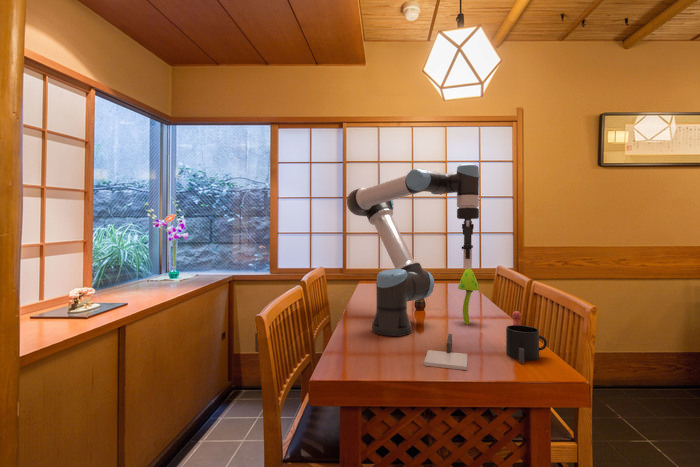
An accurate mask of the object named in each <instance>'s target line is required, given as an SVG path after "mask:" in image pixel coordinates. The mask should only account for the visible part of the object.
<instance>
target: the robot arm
mask: <svg viewBox="0 0 700 467" xmlns="http://www.w3.org/2000/svg"><path fill="white" fill-rule="evenodd" d="M479 188H480V169H479V166H478V165H477V164H475V163H463V164H459V165H458V166H457V167H456V171H454V172H447V173H444V172H437V171H432V170H426V169H423V168H413V169H411V170H410V171H409V172H407V174H406V175H403V176H400V177H397V178H395V179H394V178H393V179H391V180H389V181H388V180H387V181H385V182H383V183H378V184H375V185H373V186H370V187H359V188H357V189H355V190H352V191H351V192H350V193H349V194H348V196H347V199H346V206H347V208H348V211H349V212H351V213H352V214H353V215H355V216H359V217H366V218H367V220H368V222H369V224H370V225H373V226H374V227H375V230H376V231H377V233H378V235H379V237H380V239H381V241H382V243H383V246H384V248H385V250H386V252H387V254H388V256H389V259H390V260H391V263H392V264H393V266H394V268H393V269H385V270H381V271H380V272H378V273H377V275H376V282H375V286H376V310H375V315H374V318H373V321H372V324H371V331H372V332H373V333H375V334H377V335H381V336H389V337H390V336H393V337H396V336H406V335H409V334H411V333H412V324H411V320H410V318H409V314H408V307H407V306H408V302H413V301H420V300H421V301H422V300H424V299H427V298H429V297H430V296H431V295H432V293H433V291H434V288H435V278H434V277H433V275H432V273H431V272H429V271H427V270H425V269H423V267H422V266H421V263H420V262H418V261H415V260H414V257H413V256H412V253H411V251H410V249H409V248H408V246H407V243H406V242H405V239H404V238H403V236H402V234H401V232H400V230H399V228H398V226H397V224H396V222H395V220H394V218H393V215H394V200H397V199H401V198H406V197H408V196H411V195H416V194H418V193H422V192H427V193H428V192H429V193H431V194H432V195H445V194H454V193H455V194H456V207H457V209H456V218H457V219H458V220H464V221H463V223H462V224H461V229H462V235H463V245H462V246H461V250H463V254H462V256H463V261H462V262H463V264H462V265H463V267H462V268H463V269H465V270H466V269H471V270H472V269H473V267H472V266H473V265H472V264H473V263H472V262H473V254H472V253H473V249H474V245H473V244H472V235H474V234H473V233H474V227H475V226H474V223H473V221H472V220H477V219H479V218H480V211H479V210H480V209H479V208H478V207H479V206H480V205H479V204H480V201H481V199H482V198H480V196H479V195H480V193H479V190H480V189H479Z"/></svg>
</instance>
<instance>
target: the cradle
mask: <svg viewBox="0 0 700 467" xmlns="http://www.w3.org/2000/svg"><path fill="white" fill-rule="evenodd" d="M511 316H512V320H513V325H521V318H522V314H521V312H520V311H518V310H514V311H513V312H512V314H511ZM452 347H453V333H448V335H447V340H446V352H447V353H451V352H452ZM517 361H518V362H519V364H524V365H525V361H524V349H523V347H518V360H517Z"/></svg>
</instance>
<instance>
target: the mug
mask: <svg viewBox="0 0 700 467" xmlns="http://www.w3.org/2000/svg"><path fill="white" fill-rule="evenodd" d="M505 328H506V329H505V330H506V331H505V336H506V337H505V338H506V339H505V340H506V344H505V347H506V348H505V352H506V353H505V354H506V356H507V357H509V358H511V359H514V360H517V361H519V360H518V347H523V349H524V362H535V361H538V360H539V359H540V351H543V350H545V349H546V348H547V345H548V341H547V339H546V338H545V337H544V336H542V335H540V330H539V329H538V328H536V327H534V326H533V327H532V326H529V325H521V324H520V325H508V326H506V327H505ZM540 340H542V341H543V345H542V346H540Z"/></svg>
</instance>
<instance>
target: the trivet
mask: <svg viewBox="0 0 700 467" xmlns="http://www.w3.org/2000/svg"><path fill="white" fill-rule="evenodd" d="M423 366H424V367H426V366H427V367H435V368H444V369H453V370H461V371H468V353H464V352H463V353H462V352H452V351H451V353H447V351H441V350H431V349H428V350H427V352H426V356H425V358H424V361H423Z"/></svg>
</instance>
